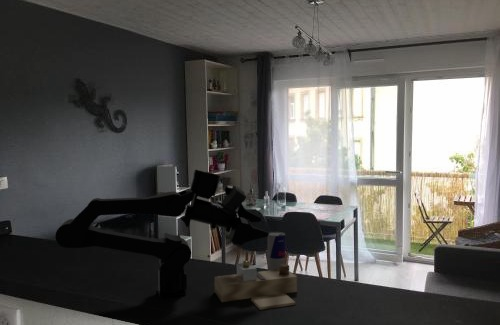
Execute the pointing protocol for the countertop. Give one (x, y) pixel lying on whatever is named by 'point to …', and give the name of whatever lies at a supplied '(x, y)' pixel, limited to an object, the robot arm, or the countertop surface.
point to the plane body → (256, 285)
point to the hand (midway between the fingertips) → (264, 226)
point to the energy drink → (276, 250)
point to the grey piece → (246, 271)
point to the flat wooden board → (272, 301)
